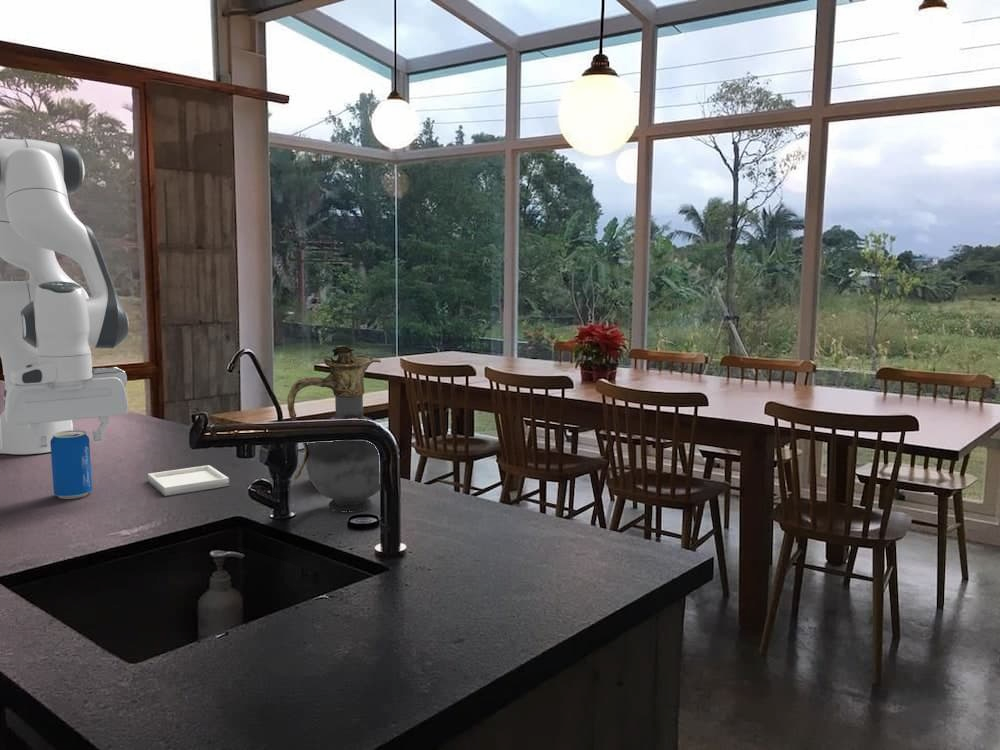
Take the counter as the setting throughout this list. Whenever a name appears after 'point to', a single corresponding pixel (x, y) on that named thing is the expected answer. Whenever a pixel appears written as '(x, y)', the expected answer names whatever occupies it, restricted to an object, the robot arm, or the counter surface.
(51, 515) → the counter surface
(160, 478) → the tray
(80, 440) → the beverage can
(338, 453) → the pitcher
